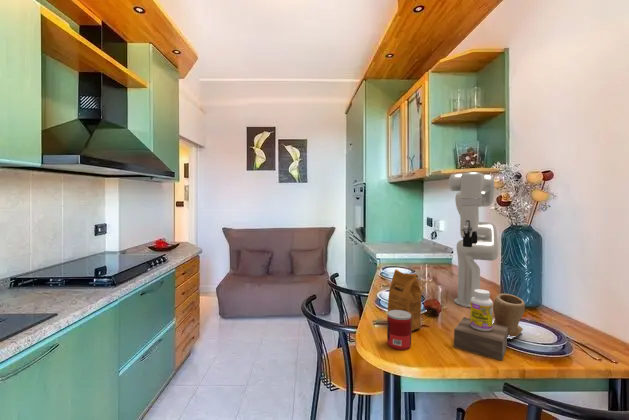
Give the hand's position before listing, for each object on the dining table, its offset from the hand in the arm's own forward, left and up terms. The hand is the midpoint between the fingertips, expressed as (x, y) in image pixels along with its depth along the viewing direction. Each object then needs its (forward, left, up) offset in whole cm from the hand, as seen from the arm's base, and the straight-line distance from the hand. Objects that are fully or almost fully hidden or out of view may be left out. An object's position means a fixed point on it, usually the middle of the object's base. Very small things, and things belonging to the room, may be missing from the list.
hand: (470, 245), depth 119 cm
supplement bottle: (+18, +7, -26) cm, 33 cm away
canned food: (+36, -15, -33) cm, 50 cm away
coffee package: (+20, -20, -33) cm, 43 cm away
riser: (+18, +7, -32) cm, 38 cm away
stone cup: (+2, +13, -33) cm, 35 cm away
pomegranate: (0, -15, -33) cm, 36 cm away
